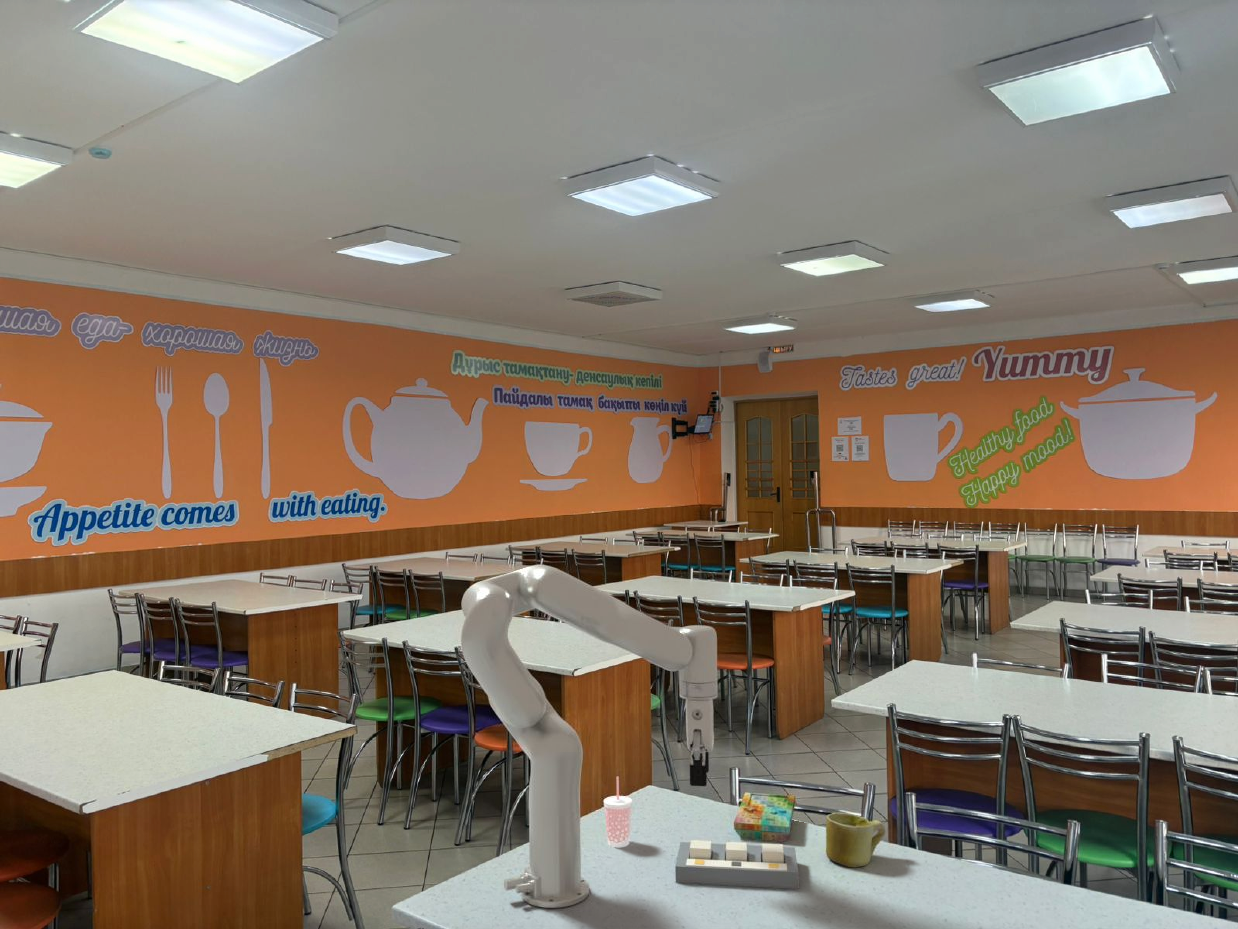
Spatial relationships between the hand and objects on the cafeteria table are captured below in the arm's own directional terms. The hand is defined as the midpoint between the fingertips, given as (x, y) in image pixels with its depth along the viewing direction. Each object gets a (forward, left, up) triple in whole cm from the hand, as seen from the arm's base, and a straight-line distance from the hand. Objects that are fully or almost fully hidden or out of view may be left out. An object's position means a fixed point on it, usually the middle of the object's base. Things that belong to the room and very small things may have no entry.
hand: (699, 778), depth 172 cm
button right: (+11, -8, -16) cm, 21 cm away
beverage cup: (-8, +20, -18) cm, 28 cm away
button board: (+6, -4, -18) cm, 19 cm away
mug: (+31, -10, -18) cm, 37 cm away
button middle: (+6, -4, -16) cm, 17 cm away
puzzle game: (+26, +14, -18) cm, 35 cm away
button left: (0, 0, -16) cm, 16 cm away
